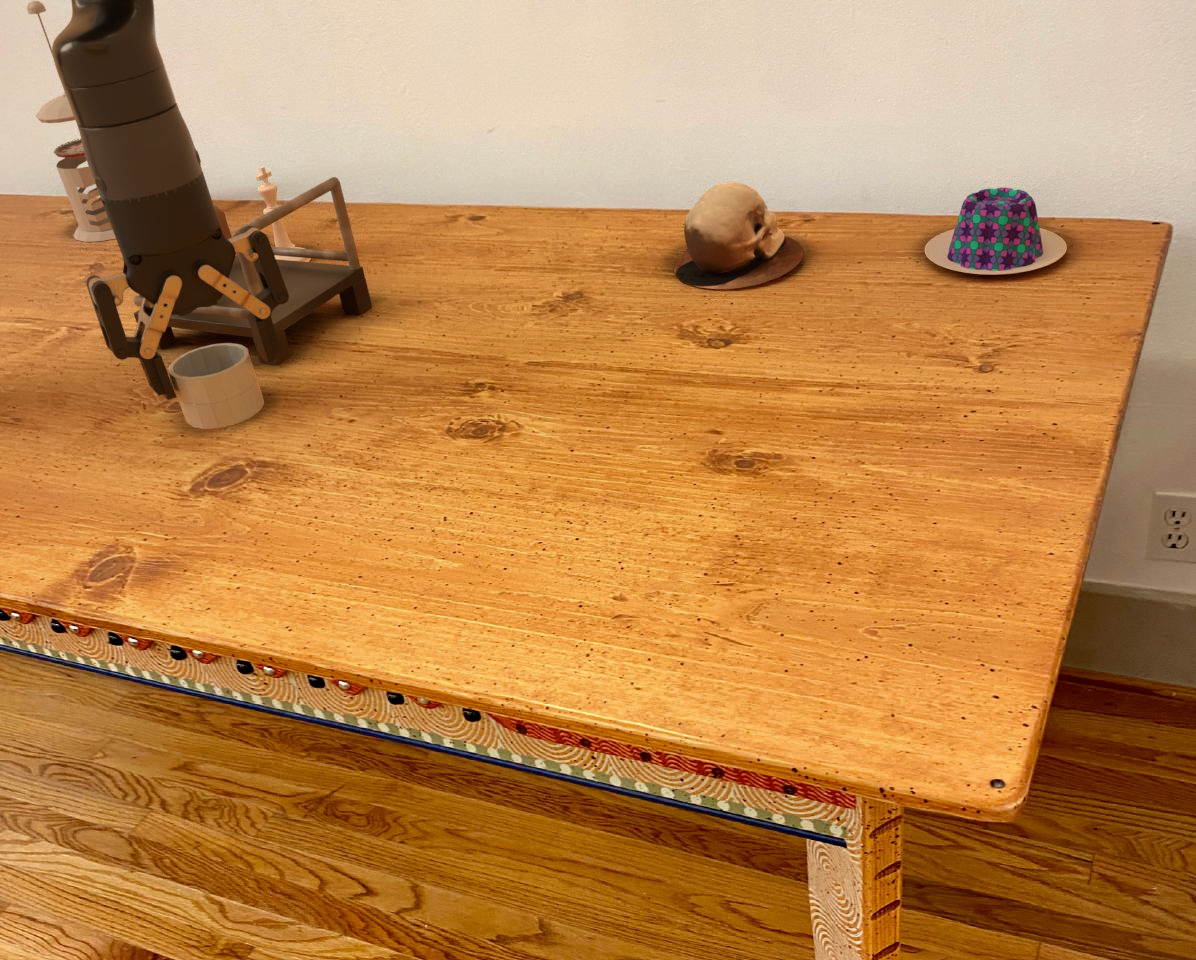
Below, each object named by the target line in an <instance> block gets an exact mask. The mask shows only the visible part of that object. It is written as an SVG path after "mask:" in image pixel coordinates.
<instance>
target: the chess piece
mask: <svg viewBox="0 0 1196 960" xmlns="http://www.w3.org/2000/svg"><path fill="white" fill-rule="evenodd" d="M258 171H259V174H258V175H256V176H255V180H256V182H262V184H261V185H259V186H258V187H257V190H256V191H257V192H258V194H259V196H260V197H261V198H262V200H263V202H264V203H265V205H266V207H265V208H264V209H263V210H262V211H263V215H264V214H266V213H268V212H270V211H272V210H274V209H275V208H277V207H279V206H281V205H282V204H278V203H277V202H278V185H277V184H276V183H273V182H270V181H269V178H270V177H272V176H273V175H272V171H271V170H267V171H266V168H265V166H260V167H258ZM271 227H272V233H273V238H274V239H273V241H274V247H286V248H298V249H306V248H304V247H301V246H300V247H299V246H296V244H294V243H292V242H291V240H290V237H289V235H288V233H287V230H286V227H285V225H284V223H283V220H282V218H281V219H279V220H277V221H276V222H274V223H272V224H271ZM274 256H275V259H278V260H289V261H301V262H311V260H312V258H302V257H290V256H278V255H274Z"/></svg>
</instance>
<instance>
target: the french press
mask: <svg viewBox="0 0 1196 960" xmlns="http://www.w3.org/2000/svg"><path fill="white" fill-rule="evenodd" d="M26 11H27V13H28V15H35V14H36V15H37V17H38V20H39V23H40V25H41V28H42V32H43V33H44V36H45V39H46V42H47V46H48V48H49V50H50V54H51V56H52V57H53V54H52V46H51V43H50V39H49V38H48V34H47V32H46V29H45V26H44V23H43V20H42V18H41V15H40V14H41V13H44V12H46V11H47V9H46V7H45V5H44V3H42V2H41V1H39V0H32V1H30V2H28V3H27V5H26ZM35 118H36V119H37V120H38V121H39V122H40V123H44V124H59V123H67V122H73V121H76V120H75V118H74V115H73V112H72V110H71V107H70V104H69V102H68V99H67V96H66V94H65V92H64V93H63V94H62V95H59V96H56V97H54V98H52V99H50V100H48V101H47V102H46V103H44V104H43V105H42V106H41V107H40V108H39V110H38V112H37V113H36V114H35ZM76 125H78V124H77V123H76ZM53 153H54V155H56V156H57V157H58V158H62V159H61V160H59V161H57V163H56V165H55V167H56V170H57V172H58V175H59V177H60V180H61V182H62V186H63V188H64V191H65V193H66V195H67V198H68V202H69V204H70V206H71V209H72V211H73V214H74V217H75V219H76V223H77V224H78V226H77V227H76V229H75V231H74V233H73V236H72V237H73V238H74V239H75V240H76V241H79V242H86V243H88V242H89V243H91V242H92V243H93V242H104V241H111V240H116V237H115V234H114V232H113V229H112V227H111V224H110V221H109V219H108V216H107V213H106V211H105V208H104V205H103V203H102V200H101V197H100V195H99V192H98V189H97V187H95V188H93V189H91V190H88V191H87V193H85V191H86V189H87V188H89V187H92V186H93V185H96V184H95V181H94V179H93V176H92V173H91V171H90V168H89V165H88V166H84V167H79V166H80V165H83V164H85V162H87V159H86V157H85V153H84V149H83V144H82V140H81V137H80V138H77V139H74V140H70V141H66V142H64V143H62V144H60V145H59V146H57V147H56V148H55V149H54V150H53ZM97 197H98V198H97ZM95 198H97V199H95ZM92 199H95V200H93V201H92V202H91V203H90V204H89V203H88V202H89V201H90V200H92Z"/></svg>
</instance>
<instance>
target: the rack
mask: <svg viewBox="0 0 1196 960" xmlns="http://www.w3.org/2000/svg"><path fill="white" fill-rule="evenodd" d="M329 192H330V194H331V198H332V202H333V206H334V210H335V215H336V218H337V223H338V226H339V230H340V234H341V238H342V242H343V246H344V250H345V251H336V250H335V251H333V250H320V249H310V248H308V249H307V248H305V249H298V248H286V247H275V246H272V245H271V248H272V250H273V253H274V255H278V256H290V257H302V258H311V259H313V260H315V259H316V260H326V261H327V260H328V261H339V262H348V265H345V264H334V263H323V262H311V261H309V262H301V261H289V260H278V259H276V261H277V264H278V267H279V270H280V272H281V275H282V278H283V280H284V283H285V286H286V289H287V291H288V294H289V299H288V301H287V302H286V303H285V304H279V305H278V306H277V307H276V308H275V309H274V310H273V311H272V313H271V319H272V322H273V325H274V328H275V332H276V335H277V339H278V341H279V345H280V349H279V352H278V353H275V356H276V361H273V362H271V363H267V362H266V361H265V360H263V359H262V357H261V356H260V353H259V351H258V348H257V344H256V341H255V338H254V335H253V332H252V329H251V326H250V323H249V320H248V317H247V315H249V314H250V312H249V311H248V310H246V309H245V308H244V307H242V306H240V305H239V304H237V303H236V302H234V301H233V300H231V299H230V298H228V297H227V296H226V295H224V294H223V296H222V297H221V298H220V299H219V300H218V301H217V303H218V304H216V305H213V306H210V307H201V308H197V309H195V310H194V311H192V312H191V313H189V314H186V315H183V316H180V317H179V316H178V315H172V314H171V316H170V319H169V322H168V325H167V328H166V331H165V332H164V333H163V334H162V336H161V339H160V342H159V345H158V348H157V351H158V350H159V351H162V350H164V349H165V348H167V347H169V346H170V345H172V344H173V343H176V342H177V339H176V336H175V334H174V331H173V329H174V328H175V329H181V330H190V331H199V332H204V333H205V332H206V333H213V334H222V335H228V336H229V335H231V336H238V337H245V338H246V337H247V338H252V340H253V344H254V346H255V350H256V353H257V356H258V359H259V363H260V364H261V365H268V366H275V367H276V366H277V367H278V366H280V365H281V364H282V363H284V362H285V361H287V360H288V359H290V358H292V356H293V355H292V352H291V349H290V348H291V347H290V345H289V342H288V339H287V335H286V332H285V330H286V329H288V328H290V327H291V326H292V325H294V324H296V323H297V322H298V321H301V319H303V318H305V317H306V316H308V315H309V314H311V313H312V312H314V311H315V310H317V309H318V308H320V307H321V306H323V305H325V304H326V303H327V302H329V301H330V300H332V299H333V298H335V297H337V296H339V301H340V304H341V308H342V311H343V314H349V315H355V316H356V315H357V316H361V315H362V314H364V313H365V312H366V311H369V309H371V308H372V307H373V303H372V300H371V296H370V291H369V287H368V283H367V279H366V275H365V272H364V267H363V266H361V262H360V258H359V254H358V249H357V246H356V242H355V238H354V234H353V230H352V225H351V221H350V217H349V214H348V209H347V205H346V201H345V197H344V193H343V189H342V185H341V181H340V180H339V178H338V177H336V176H333V177H329V178H328V179H326V180H324V181H323V182H320V183H319V184H318V185H315V186H313V187H312V188H310V189H308V190H307V191H305V192H302V193H301V194H299V195H297V196H295V197H294V198H292V199H290V200H288V201H286V202H285V203H283V204H280V205H281V206H279V207H277V208H275V209H274V210H272V211H270V212H268V213H266V214H264V213H263V215H261V216H259V217H257V218H256V219H253V220H252V221H250V222H249V223H246V224H244V225H242V226H241V227H239V228H237V229H236V230H234V231H233V233H232V237H235V236H237V235H240V234H242V233H243V230H244V228H245V227H247V226H254V227H255V228H257V229H258V230H260V231H262V230H263V229H265V228H267V227H268V226H270V225H272V223H274V222H276V221H277V220H279V219H281V220H282V219H283V218H285V217H286V216H288V215H290V214H292V213H293V212H295V211H297V210H299V209H301V208H303V207H304V206H306V205H308V204H309V203H311V202H313V201H315V200H316V199H318V198H320V197H322V196H323V195H326V194H328V193H329ZM229 278H230V279H231V280H233V281H234V282H236V283H237V284H238V285H240V286H241V287H243V288H244V289H246V290H247V291H248V292H250V293H251V294H253V295H254V296H256V295H257V294H258V293H260V292H261V291H262V290H263V287H262V284H261V281H260V279H259V276H258V273H257V271H256V268H255V265H254V263H253V262H251V261H249V260H247V259H246V258H244V257H243V255H242V254H241V253H240V252H237V255H235V259H234V263H233V266H232V269H231V272H230V275H229ZM142 301H143V297H142V296H140V295H139V294H136V295H135V296H134V297H133V304H134V305H135V306H136V307H141V304H142ZM150 306H151V305H150ZM139 310H140V309H138V310H136V311H135V312H133V316H134V319H135V322H136V324H137V323H138V314H139ZM161 316H162V315H161Z"/></svg>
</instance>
